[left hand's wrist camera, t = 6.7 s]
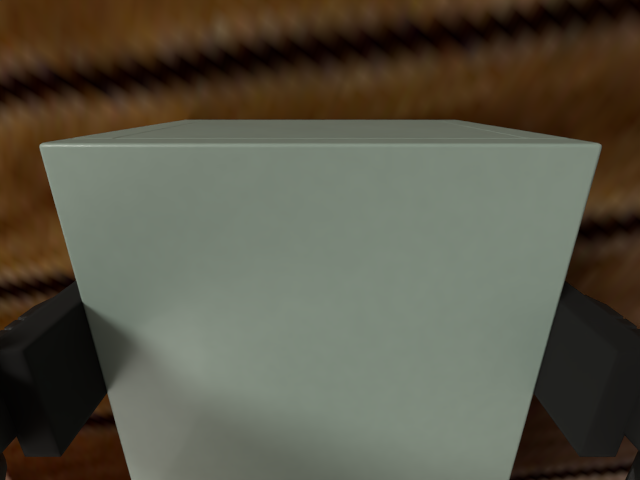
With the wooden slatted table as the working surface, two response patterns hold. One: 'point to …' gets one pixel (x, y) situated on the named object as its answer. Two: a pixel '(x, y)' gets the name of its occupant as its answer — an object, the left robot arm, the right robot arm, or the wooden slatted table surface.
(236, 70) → the wooden slatted table surface
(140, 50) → the wooden slatted table surface
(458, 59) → the wooden slatted table surface
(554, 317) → the left robot arm
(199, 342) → the cabinet
